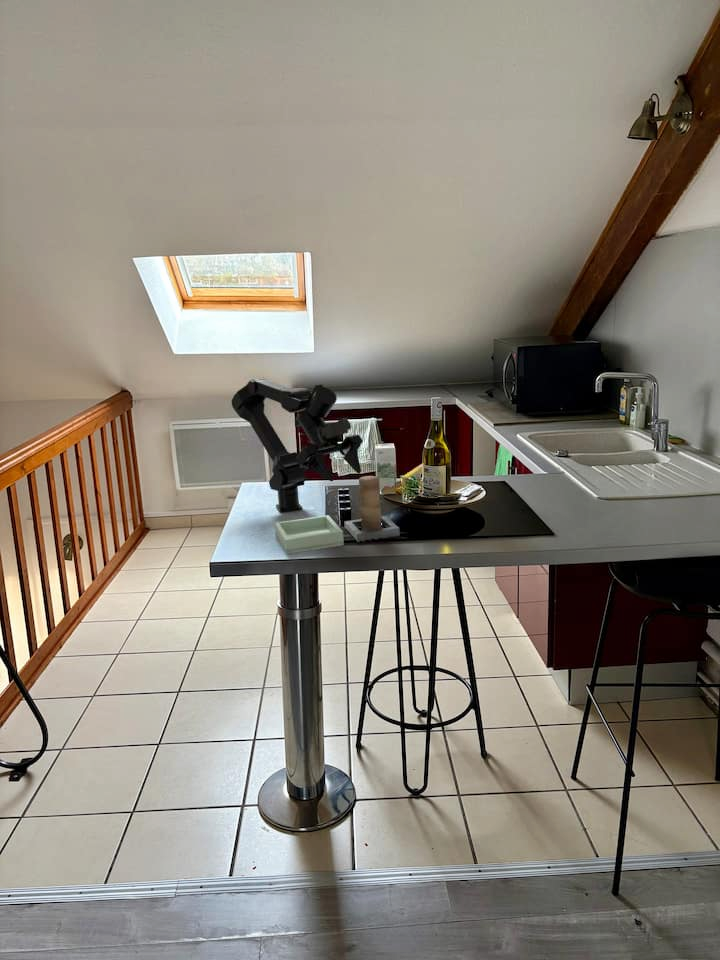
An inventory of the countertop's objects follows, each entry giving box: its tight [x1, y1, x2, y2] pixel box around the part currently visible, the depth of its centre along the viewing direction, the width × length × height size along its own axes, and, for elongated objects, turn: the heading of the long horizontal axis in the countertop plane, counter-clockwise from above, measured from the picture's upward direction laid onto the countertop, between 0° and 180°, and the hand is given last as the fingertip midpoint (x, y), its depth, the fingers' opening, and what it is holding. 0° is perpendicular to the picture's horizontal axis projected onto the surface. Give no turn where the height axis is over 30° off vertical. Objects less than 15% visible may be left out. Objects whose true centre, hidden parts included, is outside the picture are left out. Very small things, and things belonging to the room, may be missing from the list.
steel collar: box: [343, 515, 401, 543], centre depth 186 cm, size 11×11×2 cm
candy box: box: [401, 463, 423, 494], centre depth 214 cm, size 16×2×8 cm, turn 155°
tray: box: [274, 514, 345, 555], centre depth 183 cm, size 14×14×4 cm
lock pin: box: [358, 475, 383, 532], centre depth 185 cm, size 5×5×14 cm
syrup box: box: [374, 443, 397, 489], centre depth 219 cm, size 6×6×14 cm
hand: (346, 476), depth 188 cm, fingers open, 9 cm apart
